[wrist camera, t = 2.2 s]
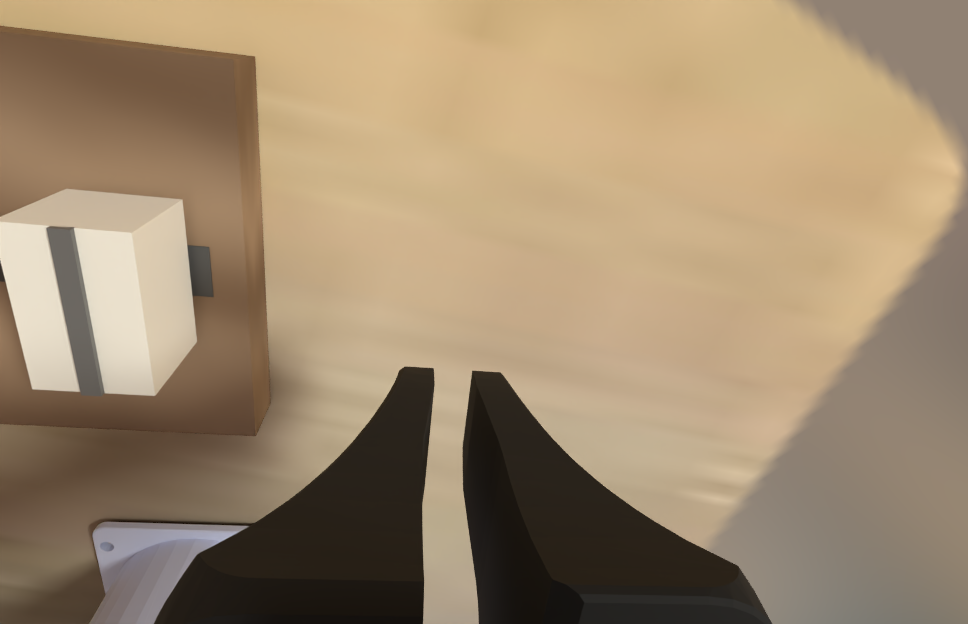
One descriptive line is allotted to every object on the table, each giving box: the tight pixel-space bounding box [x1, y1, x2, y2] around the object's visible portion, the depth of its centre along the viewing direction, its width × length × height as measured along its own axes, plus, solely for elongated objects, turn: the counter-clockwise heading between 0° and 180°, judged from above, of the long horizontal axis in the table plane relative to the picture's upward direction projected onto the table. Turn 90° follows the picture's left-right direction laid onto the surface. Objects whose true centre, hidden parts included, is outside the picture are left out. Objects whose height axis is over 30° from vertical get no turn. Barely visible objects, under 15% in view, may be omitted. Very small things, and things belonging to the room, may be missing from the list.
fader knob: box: [0, 189, 197, 396], centre depth 16 cm, size 4×3×3 cm, turn 173°
